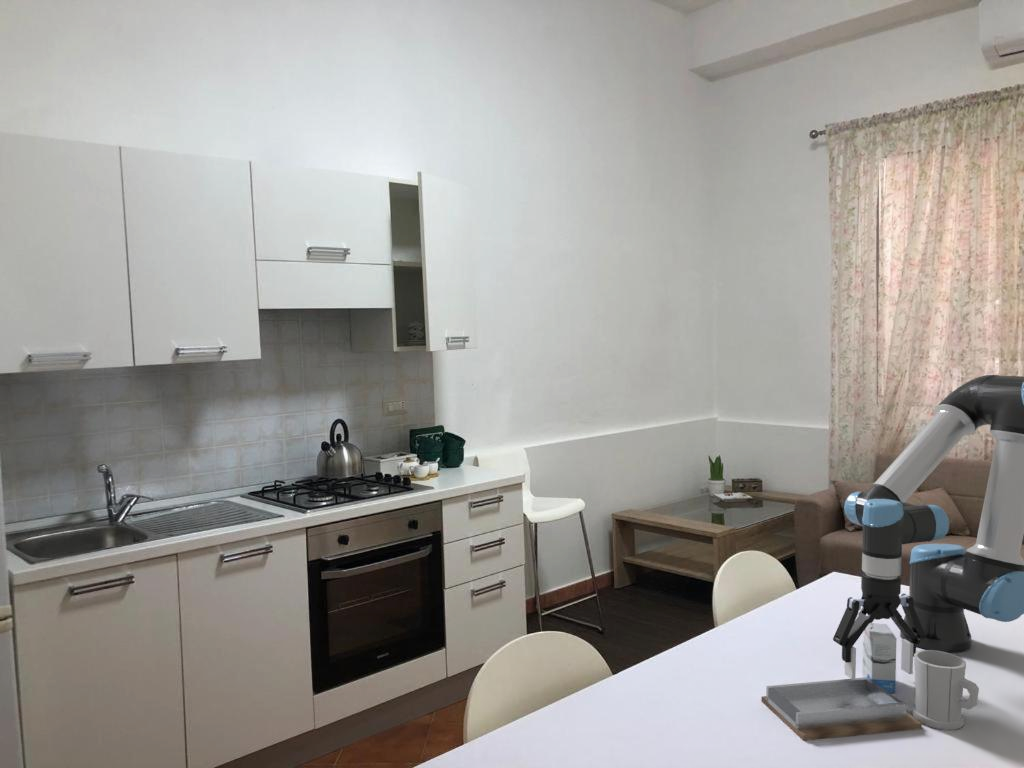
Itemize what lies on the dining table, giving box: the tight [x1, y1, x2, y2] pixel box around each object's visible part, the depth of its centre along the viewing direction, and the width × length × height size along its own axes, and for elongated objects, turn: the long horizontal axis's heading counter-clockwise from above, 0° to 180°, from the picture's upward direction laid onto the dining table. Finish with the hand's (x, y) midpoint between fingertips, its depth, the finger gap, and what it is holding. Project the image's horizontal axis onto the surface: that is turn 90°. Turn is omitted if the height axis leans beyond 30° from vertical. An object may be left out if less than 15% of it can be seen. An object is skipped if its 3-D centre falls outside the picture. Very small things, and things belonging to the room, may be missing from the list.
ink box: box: [861, 622, 897, 694], centre depth 172 cm, size 8×5×12 cm, turn 168°
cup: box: [911, 649, 980, 731], centre depth 156 cm, size 10×9×12 cm
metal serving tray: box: [765, 677, 907, 730], centre depth 159 cm, size 22×12×3 cm, turn 100°
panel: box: [760, 695, 923, 742], centre depth 159 cm, size 24×16×1 cm, turn 100°
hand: (878, 674), depth 173 cm, fingers open, 12 cm apart
